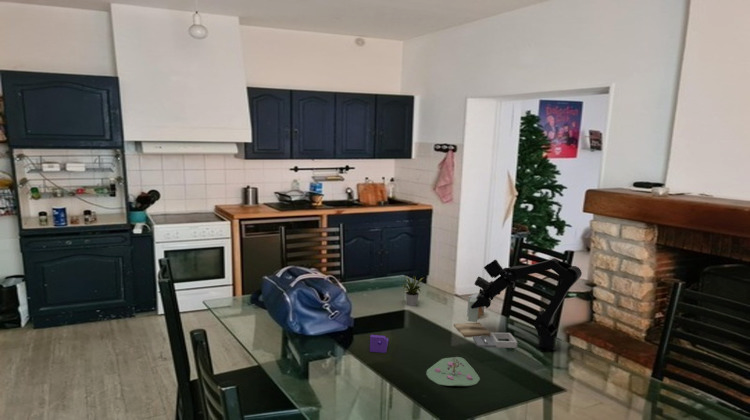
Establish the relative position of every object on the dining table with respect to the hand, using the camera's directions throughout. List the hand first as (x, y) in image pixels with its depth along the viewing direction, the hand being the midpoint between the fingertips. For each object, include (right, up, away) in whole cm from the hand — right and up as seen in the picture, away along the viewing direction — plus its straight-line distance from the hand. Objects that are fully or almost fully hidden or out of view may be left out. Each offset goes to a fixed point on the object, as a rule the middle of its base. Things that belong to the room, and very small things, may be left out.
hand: (471, 305), depth 229 cm
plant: (-15, -19, -37) cm, 44 cm away
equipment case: (+8, -14, -10) cm, 19 cm away
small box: (+6, -9, +21) cm, 23 cm away
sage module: (+1, -7, +1) cm, 7 cm away
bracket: (-43, -14, -17) cm, 49 cm away
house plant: (-27, -6, +34) cm, 43 cm away
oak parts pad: (0, -12, +2) cm, 12 cm away
